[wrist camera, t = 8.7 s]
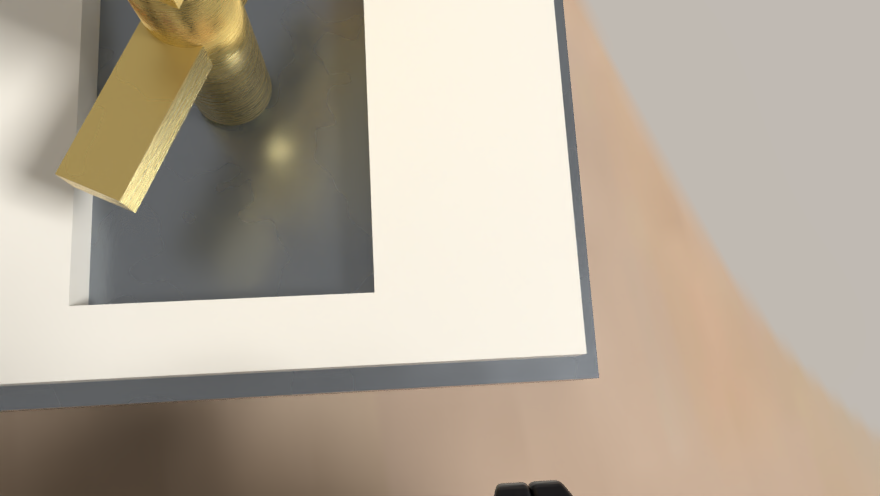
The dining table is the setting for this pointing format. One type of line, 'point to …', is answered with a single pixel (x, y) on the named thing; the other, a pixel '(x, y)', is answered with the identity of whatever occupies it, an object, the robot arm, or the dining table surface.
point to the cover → (392, 203)
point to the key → (166, 93)
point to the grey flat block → (275, 215)
